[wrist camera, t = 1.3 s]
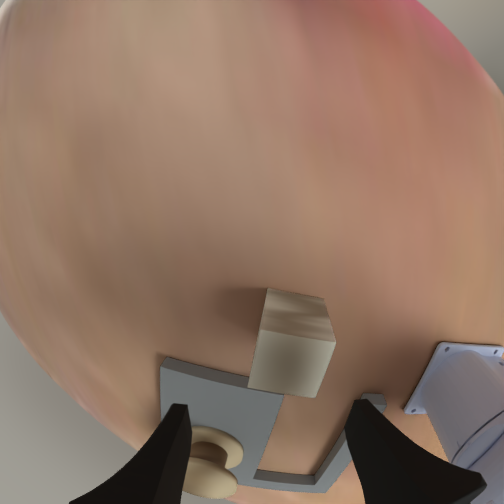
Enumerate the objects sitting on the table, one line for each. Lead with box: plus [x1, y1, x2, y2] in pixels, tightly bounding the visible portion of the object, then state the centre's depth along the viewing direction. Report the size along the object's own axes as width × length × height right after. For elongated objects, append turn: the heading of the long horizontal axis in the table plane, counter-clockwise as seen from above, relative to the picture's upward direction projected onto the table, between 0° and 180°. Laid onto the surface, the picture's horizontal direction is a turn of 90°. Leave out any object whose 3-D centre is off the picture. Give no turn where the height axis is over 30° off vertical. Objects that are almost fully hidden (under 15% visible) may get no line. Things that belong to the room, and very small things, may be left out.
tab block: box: [248, 288, 336, 398], centre depth 18 cm, size 4×4×6 cm
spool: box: [182, 426, 244, 498], centre depth 21 cm, size 6×6×5 cm
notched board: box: [160, 357, 387, 493], centre depth 23 cm, size 19×16×2 cm
